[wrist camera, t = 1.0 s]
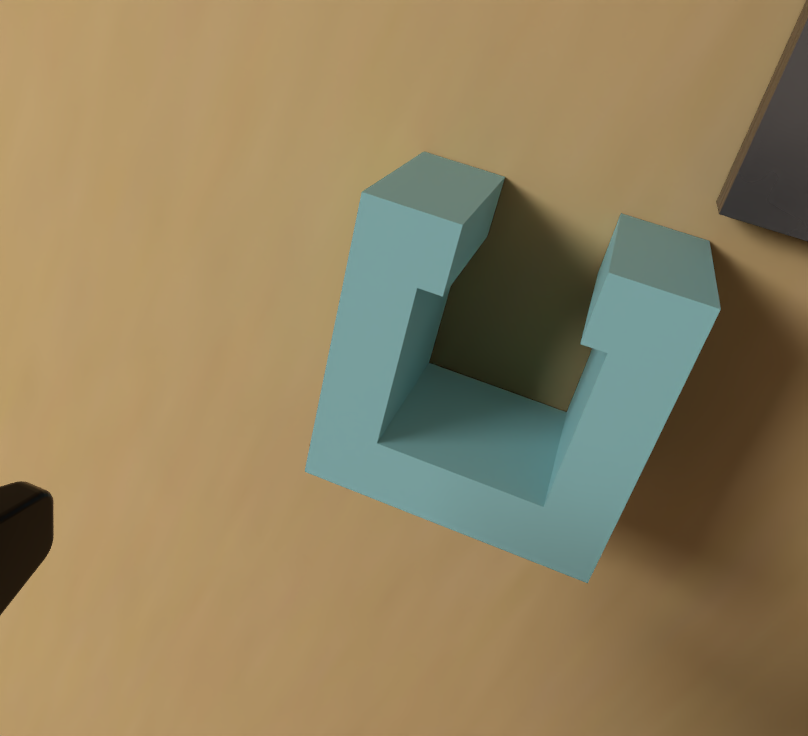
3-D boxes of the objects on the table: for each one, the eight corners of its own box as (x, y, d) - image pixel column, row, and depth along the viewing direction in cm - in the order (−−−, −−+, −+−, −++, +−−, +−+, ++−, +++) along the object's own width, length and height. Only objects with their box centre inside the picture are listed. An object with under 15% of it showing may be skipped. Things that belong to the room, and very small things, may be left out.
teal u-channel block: (602, 477, 19) (587, 583, 16) (366, 389, 20) (304, 471, 17) (709, 241, 16) (720, 309, 12) (424, 151, 17) (361, 191, 13)
